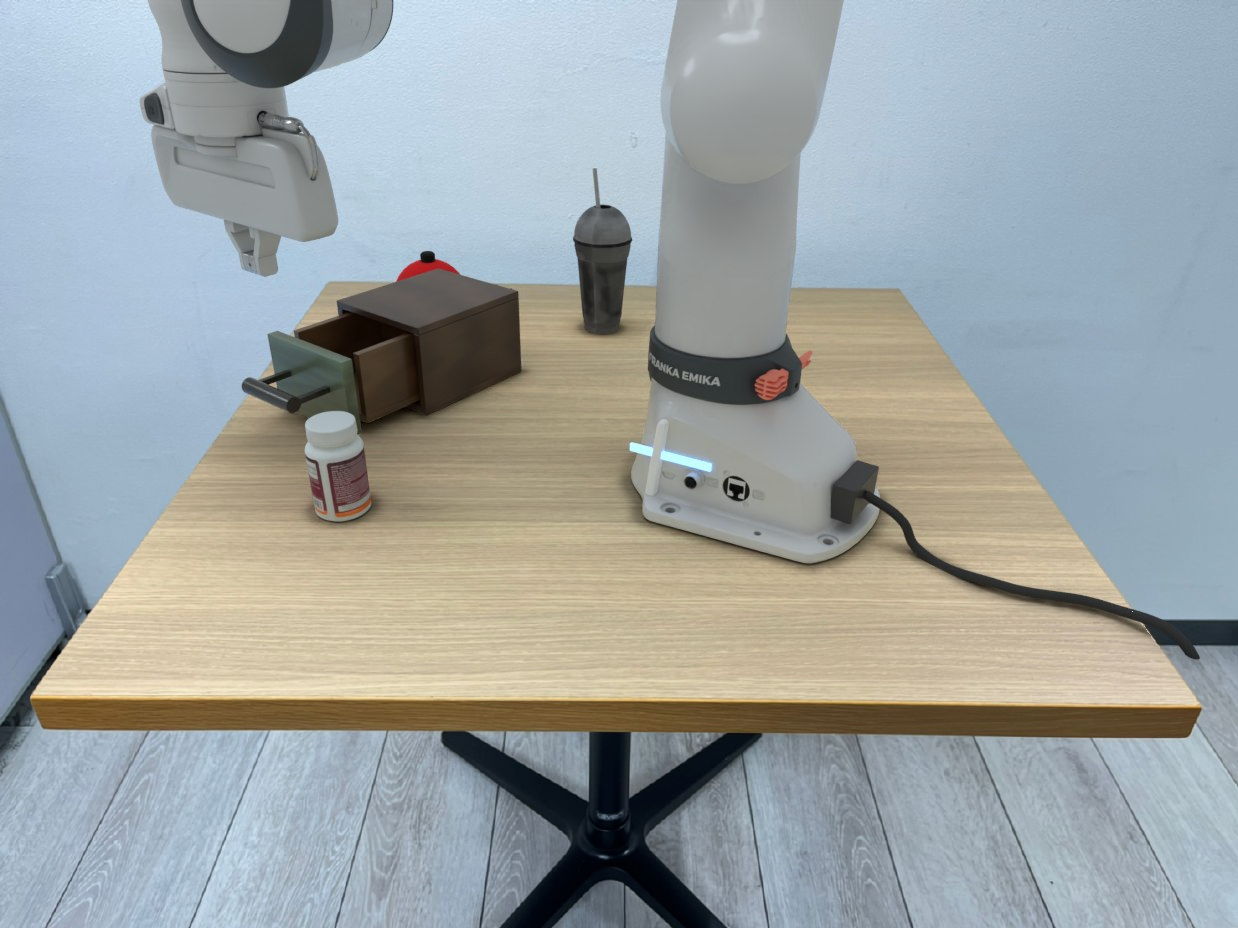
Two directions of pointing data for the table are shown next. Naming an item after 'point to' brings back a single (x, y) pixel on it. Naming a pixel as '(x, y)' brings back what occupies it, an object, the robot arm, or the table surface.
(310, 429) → the pill bottle
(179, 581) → the table surface
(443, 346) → the cabinet
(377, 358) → the drawer
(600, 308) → the beverage cup
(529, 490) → the table surface
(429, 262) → the ornament
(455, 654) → the table surface
